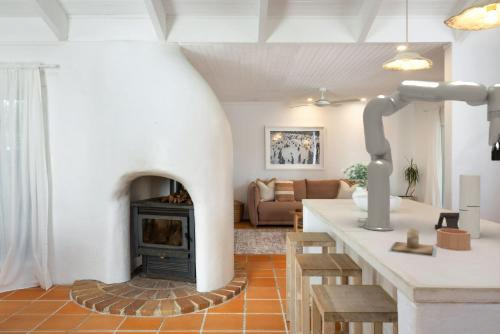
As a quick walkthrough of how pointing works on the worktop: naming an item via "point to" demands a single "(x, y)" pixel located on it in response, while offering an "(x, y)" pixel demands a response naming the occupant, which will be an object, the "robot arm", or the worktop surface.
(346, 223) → the worktop surface
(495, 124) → the robot arm
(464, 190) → the cylindrical container
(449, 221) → the portable electronic device stand
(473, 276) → the worktop surface
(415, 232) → the square wooden lid
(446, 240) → the terracotta bowl
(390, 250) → the slate mat
